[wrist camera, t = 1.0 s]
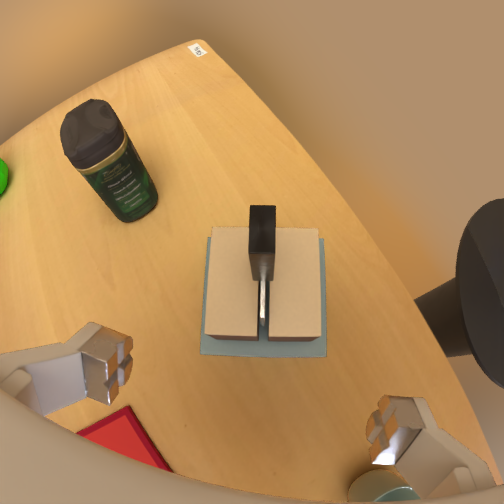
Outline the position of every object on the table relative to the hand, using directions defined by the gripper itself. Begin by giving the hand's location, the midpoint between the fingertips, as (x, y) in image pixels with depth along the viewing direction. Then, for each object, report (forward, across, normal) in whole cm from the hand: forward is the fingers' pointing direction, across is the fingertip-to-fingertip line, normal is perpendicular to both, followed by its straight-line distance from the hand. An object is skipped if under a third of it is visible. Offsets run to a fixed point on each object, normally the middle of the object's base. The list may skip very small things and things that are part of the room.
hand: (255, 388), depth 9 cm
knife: (+24, 0, +6) cm, 25 cm away
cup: (+16, -21, +29) cm, 39 cm away
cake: (+31, 0, +11) cm, 33 cm away
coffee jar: (+39, +23, +3) cm, 46 cm away
